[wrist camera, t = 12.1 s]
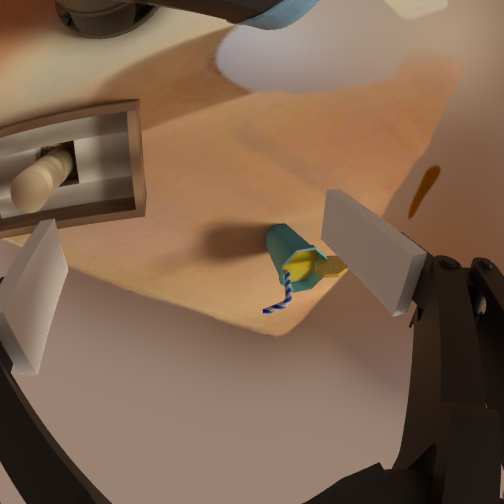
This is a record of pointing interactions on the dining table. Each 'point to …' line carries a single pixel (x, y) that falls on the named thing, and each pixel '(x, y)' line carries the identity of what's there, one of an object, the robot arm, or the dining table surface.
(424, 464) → the robot arm
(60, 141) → the crate
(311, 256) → the cup
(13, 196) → the peg
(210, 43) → the dining table surface
